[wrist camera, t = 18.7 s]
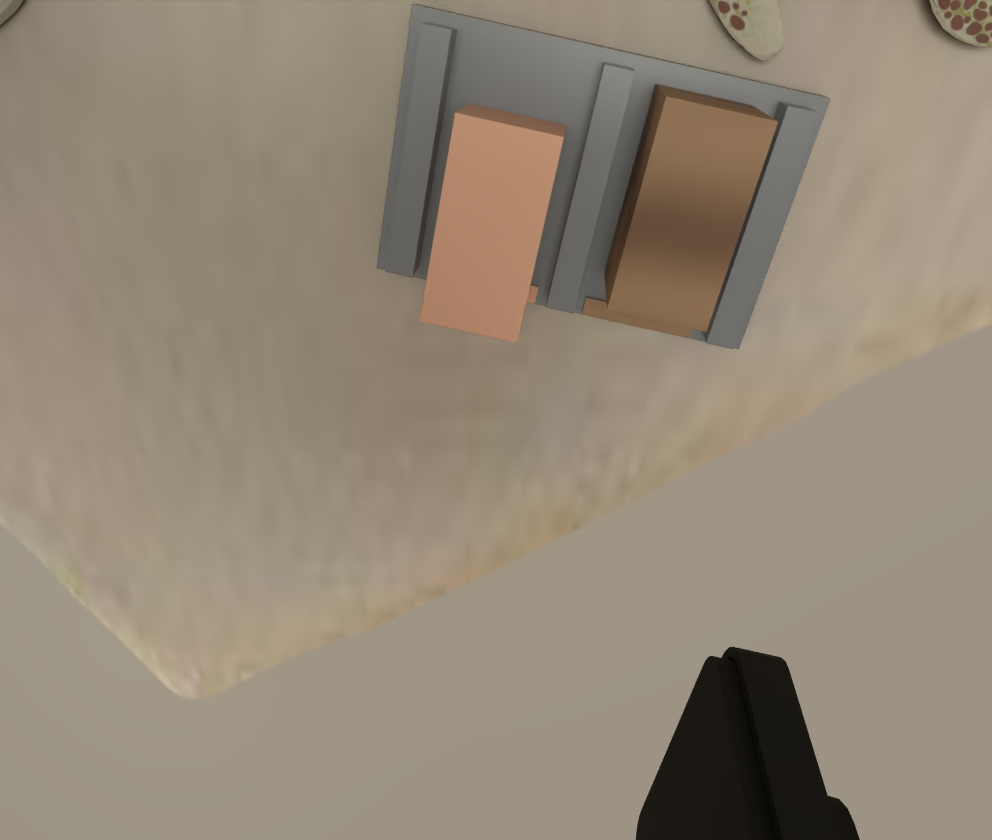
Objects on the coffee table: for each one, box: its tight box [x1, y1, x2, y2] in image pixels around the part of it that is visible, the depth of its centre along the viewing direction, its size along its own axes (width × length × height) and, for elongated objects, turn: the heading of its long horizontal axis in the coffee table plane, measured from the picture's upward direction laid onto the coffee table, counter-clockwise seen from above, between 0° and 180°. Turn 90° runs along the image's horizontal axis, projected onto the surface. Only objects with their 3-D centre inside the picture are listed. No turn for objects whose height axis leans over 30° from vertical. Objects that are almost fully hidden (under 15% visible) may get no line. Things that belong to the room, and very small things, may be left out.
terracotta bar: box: [420, 104, 565, 343], centre depth 34 cm, size 8×4×5 cm, turn 169°
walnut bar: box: [604, 83, 778, 332], centre depth 33 cm, size 8×4×5 cm, turn 169°
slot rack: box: [377, 4, 830, 349], centre depth 35 cm, size 17×11×3 cm, turn 79°
